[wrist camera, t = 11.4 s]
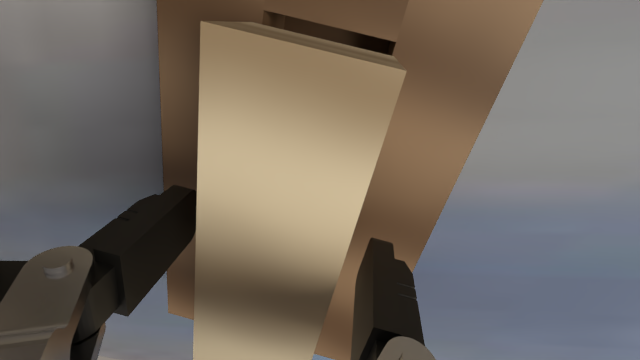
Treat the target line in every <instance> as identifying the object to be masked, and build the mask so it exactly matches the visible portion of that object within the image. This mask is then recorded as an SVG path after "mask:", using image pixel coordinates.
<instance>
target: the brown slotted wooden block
mask: <svg viewBox="0 0 640 360" xmlns="http://www.w3.org/2000/svg"><path fill="white" fill-rule="evenodd" d="M542 2H543V0H157V21H158V48H159V75H160V102H161V128H162V155H163V182H164V191H166V190H167V189H168V188H169V187H171V186H172V185H178V186H182V187H185V188H189V189H193V190H196V191H197V161H198V115H199V69H200V24H201V21H225V22H254V23H258V24H262V25H266V26H270V27H274V28H279V29H283V30H287V31H291V32H295V33H299V34H303V35H308V36H312V37H316V38H320V39H324V40H328V41H332V42H337V43H341V44H345V45H349V46H353V47H357V48H361V49H366V50H370V51H374V52H378V53H382V54H386V55H390V56H394V57H395V58H396V59H397V60H398V62H399V63H400V64H401V65H402V66H403V67H404V68H405V69H406V71H407V72H406V75H405V78H404V81H403V84H402V87H401V90H400V93H399V96H398V99H397V102H396V105H395V108H394V111H393V114H392V117H391V120H390V123H389V126H388V129H387V132H386V136H385V139H384V142H383V145H382V148H381V151H380V154H379V157H378V160H377V163H376V166H375V169H374V172H373V175H372V178H371V181H370V184H369V187H368V190H367V193H366V196H365V199H364V202H363V205H362V208H361V211H360V214H359V217H358V220H357V223H356V226H355V230H354V233H353V236H352V239H351V242H350V245H349V248H348V251H347V254H346V257H345V260H344V263H343V266H342V269H341V272H340V275H339V278H338V281H337V284H336V287H335V290H334V293H333V296H332V299H331V302H330V305H329V308H328V311H327V314H326V317H325V320H324V323H323V327H322V330H321V333H320V336H319V339H318V342H317V345H316V348H315V351H314V354H317V355H321V356H324V357H328V358H331V359H335V360H351V346H352V329H353V313H354V297H355V284H356V278H357V274H358V270H359V267H360V265H361V262H362V259H363V257H364V254H365V251H366V248H367V246H368V243H369V240H370V239H371V237H372V238H376V239H380V240H384V241H387V242H391V243H393V247H394V257H395V259H397V260H401V261H405V263H406V264H407V266H408V267H409V269H410V271H411V272H413V270H414V268H415V266H416V263H417V261H418V259H419V257H420V255H421V253H422V251H423V249H424V247H425V245H426V243H427V241H428V239H429V237H430V234H431V232H432V230H433V228H434V226H435V224H436V222H437V220H438V218H439V216H440V214H441V212H442V210H443V208H444V205H445V203H446V201H447V199H448V197H449V195H450V193H451V191H452V189H453V187H454V185H455V183H456V181H457V179H458V176H459V174H460V172H461V170H462V168H463V166H464V164H465V162H466V160H467V158H468V156H469V154H470V152H471V149H472V147H473V145H474V143H475V141H476V139H477V137H478V135H479V133H480V131H481V129H482V127H483V125H484V123H485V120H486V118H487V116H488V114H489V112H490V110H491V108H492V106H493V104H494V102H495V100H496V98H497V96H498V94H499V91H500V89H501V87H502V85H503V83H504V81H505V79H506V77H507V75H508V73H509V71H510V69H511V67H512V65H513V62H514V60H515V58H516V56H517V54H518V52H519V50H520V48H521V46H522V44H523V42H524V40H525V38H526V35H527V33H528V31H529V29H530V27H531V25H532V23H533V21H534V19H535V17H536V15H537V13H538V11H539V9H540V6H541V4H542ZM195 252H196V232H195V235H194V237H193V239H192V240H191V242H190V243H189V244H188V245H187V247H186V248H185V249H184V250H183V251H182V253H181V254H180V255H179V256H178V257H177V259H176V260H175V261H174V262H173V263H172V265H171V266H170V267H169V268H168V269H167V289H168V313H171V314H175V315H178V316H182V317H185V318H189V319H193V320H194V297H195Z"/></svg>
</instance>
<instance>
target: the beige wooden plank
mask: <svg viewBox="0 0 640 360" xmlns="http://www.w3.org/2000/svg"><path fill="white" fill-rule="evenodd" d="M406 72H407V71H406V69H405V68H404V67H403V66H402V65H401V64H400V63H399V62H398V60H397V59H396V58H395V57H394V56H390V55H386V54H382V53H378V52H374V51H370V50H366V49H361V48H357V47H353V46H349V45H345V44H341V43H337V42H332V41H328V40H324V39H320V38H316V37H312V36H308V35H303V34H299V33H295V32H291V31H287V30H283V29H279V28H274V27H270V26H266V25H262V24H258V23H254V22H225V21H201V24H200V69H199V115H198V161H197V206H196V252H195V297H194V343H193V360H312V357H313V354H314V351H315V348H316V345H317V342H318V339H319V336H320V333H321V330H322V327H323V323H324V320H325V317H326V314H327V311H328V308H329V305H330V302H331V299H332V296H333V293H334V290H335V287H336V284H337V281H338V278H339V275H340V272H341V269H342V266H343V263H344V260H345V257H346V254H347V251H348V248H349V245H350V242H351V239H352V236H353V233H354V230H355V226H356V223H357V220H358V217H359V214H360V211H361V208H362V205H363V202H364V199H365V196H366V193H367V190H368V187H369V184H370V181H371V178H372V175H373V172H374V169H375V166H376V163H377V160H378V157H379V154H380V151H381V148H382V145H383V142H384V139H385V136H386V132H387V129H388V126H389V123H390V120H391V117H392V114H393V111H394V108H395V105H396V102H397V99H398V96H399V93H400V90H401V87H402V84H403V81H404V78H405V75H406Z"/></svg>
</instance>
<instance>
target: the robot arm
mask: <svg viewBox="0 0 640 360" xmlns="http://www.w3.org/2000/svg"><path fill="white" fill-rule="evenodd" d="M196 206H197V191H196V190H193V189H189V188H185V187H182V186H178V185H172V186H171V187H169V188H168V189H167V190H166V191H164V192H163V193H162V194H161V195H156V194H154V195H152V196H149V197H147V198H144V199H141V200H139V201H138V202H136V203H135V204H134V205H132V206H131V207H130V208H128V210H127V211H124V212H123V213H122V214H120V215H119V216H118V218H117V219H116V218H115V219H114V220H112V221H111V222H110V223H108V224H107V225H106V226H104V227H103V228H102V229H100V230H99V231H98V232H96V233H95V234H94V235H92V236H91V237H90V238H88V239H87V240H86V241H84V242H83V243H82V244H80V245H79V246H63V247H57V248H53V249H50V250H47V251H44V252H42V253H40V254H38V255H36V256H35V257H33V258H32V259H30V260H29V261H0V360H97V358H98V354H99V351H100V347H101V344H102V340H103V336H104V333H105V328H106V325H105V321H106V320H107V319H108V318H109V317H110V316H111V315H112V313H117V314H120V315H124V316H129V315H130V313H131V312H132V311H133V310H134V309H135V308H136V306H137V305H138V304H139V303H140V302H141V300H142V299H143V298H144V297H145V296H146V294H147V293H148V292H149V291H150V290H151V288H152V287H153V286H154V285H155V284H156V282H157V281H158V280H159V279H160V278H161V276H162V275H163V274H164V273H165V272H166V271H167V269H168V268H169V267H170V266H171V265H172V263H173V262H174V261H175V260H176V259H177V257H178V256H179V255H180V254H181V253H182V251H183V250H184V249H185V248H186V247H187V245H188V244H189V243H190V242H191V240H192V239H193V237H194V235H195V232H196ZM414 288H415V285H414V279H413V274H412V272H411V271H410V269H409V267H408V266H407V264H406V263H405V261H401V260H397V259H395V257H394V247H393V243H391V242H387V241H384V240H380V239H376V238H372V237H371V239H370V240H369V243H368V246H367V248H366V251H365V254H364V257H363V259H362V262H361V265H360V267H359V270H358V274H357V278H356V284H355V297H354V313H353V329H352V346H351V360H436V359H435V358H434V356H433V355H432V353H431V352H430V351H429V350H428V349H427V348H426V347H425V344H424V339H423V333H422V327H421V321H420V315H419V309H418V303H417V301H416V298H417V297H416V291H415V289H414Z"/></svg>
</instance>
